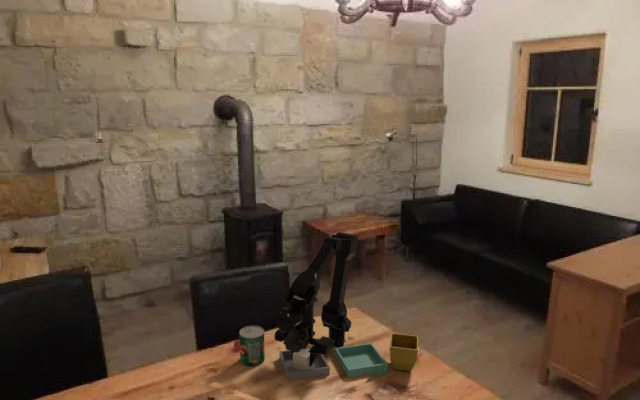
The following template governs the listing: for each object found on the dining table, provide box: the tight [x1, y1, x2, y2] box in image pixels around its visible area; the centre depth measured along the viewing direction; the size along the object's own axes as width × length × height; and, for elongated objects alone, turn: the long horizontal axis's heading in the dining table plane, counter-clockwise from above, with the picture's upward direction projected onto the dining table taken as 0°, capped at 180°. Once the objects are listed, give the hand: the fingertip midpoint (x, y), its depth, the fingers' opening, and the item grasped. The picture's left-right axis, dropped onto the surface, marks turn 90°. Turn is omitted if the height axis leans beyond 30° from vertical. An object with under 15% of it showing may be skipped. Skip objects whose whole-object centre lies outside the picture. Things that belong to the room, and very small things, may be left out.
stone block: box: [293, 348, 315, 371], centre depth 148 cm, size 5×5×5 cm
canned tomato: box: [239, 325, 266, 368], centre depth 151 cm, size 8×8×11 cm
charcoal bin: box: [278, 346, 331, 382], centre depth 148 cm, size 13×13×4 cm
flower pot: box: [389, 332, 419, 372], centre depth 150 cm, size 9×9×9 cm
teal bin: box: [334, 342, 389, 378], centre depth 150 cm, size 13×13×4 cm
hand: (303, 363), depth 148 cm, fingers closed on stone block, 5 cm apart
